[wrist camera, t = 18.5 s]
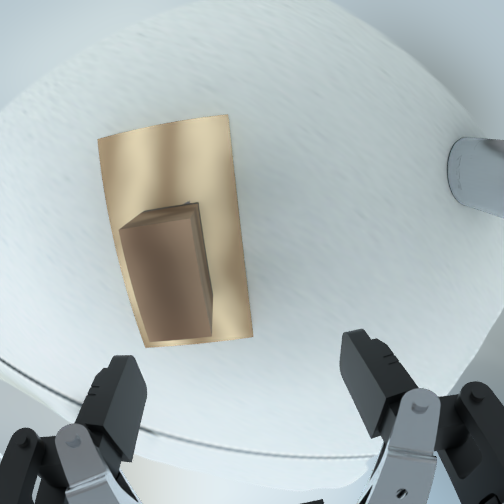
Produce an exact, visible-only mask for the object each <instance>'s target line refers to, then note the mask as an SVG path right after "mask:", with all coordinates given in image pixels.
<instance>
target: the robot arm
mask: <svg viewBox="0 0 504 504" xmlns="http://www.w3.org/2000/svg"><path fill="white" fill-rule="evenodd" d="M448 179H449V184H450V188H451V191H452V193H453V195H454V197H455V198H456V199H457V201H458V202H460V203H461V204H463V205H466V206H469V207H472V208H475V209H478V210H481V211H484V212H487V213H490V214H492V215H495V216H498V217H501V218H504V140H496V139H484V138H462V139H460V140H458V141H457V142H456V143H455V144H454V146H453V148H452V150H451V153H450V156H449V161H448ZM340 372H341V375H342V378H343V380H344V382H345V384H346V386H347V388H348V390H349V393H350V395H351V397H352V399H353V401H354V403H355V405H356V407H357V409H358V412H359V414H360V416H361V418H362V420H363V422H364V424H365V427H366V429H367V431H368V433H369V435H370V437H371V439H372V438H375V437H378V436H381V437H382V439H383V441H384V442H383V444H382V446H381V449H380V452H379V455H378V457H377V460H376V463H375V465H374V468H373V470H372V473H371V475H370V477H369V480H368V482H367V484H366V486H365V489H364V490H363V492H362V494H361V496H360V498H359V500H358V502H357V504H426V503H427V500H428V497H429V493H430V489H431V486H432V482H433V477H434V474H435V470H436V465H437V457H436V456H433V451H437V452H438V454H439V456H440V458H441V461H442V463H443V464H444V467H445V469H446V471H447V473H448V475H449V477H450V479H451V481H452V484H453V486H454V488H455V490H456V493H457V495H458V497H459V499H460V502H461V504H504V406H503V405H502V403H501V402H500V401H499V399H498V398H497V397H496V395H495V394H494V393H493V391H492V390H491V389H490V388H489V387H488V386H487V385H486V384H483V383H481V382H470V383H467V384H466V385H465V386H464V387H463V388H462V389H461V391H460V393H459V394H457V395H450V396H443V397H438V396H437V395H436V394H435V393H434V392H432V391H430V390H427V389H423V388H418V386H417V385H416V384H415V382H414V381H413V379H412V378H411V377H410V375H409V374H408V372H407V371H406V370H405V368H404V367H403V366H402V364H401V363H400V362H399V360H398V359H397V358H396V356H395V355H394V353H393V352H392V351H391V349H390V348H389V347H388V345H386V344H385V343H383V342H382V341H380V340H378V339H377V338H376V339H372V340H371V339H370V337H369V336H368V335H367V333H366V332H365V330H364V329H358V330H353V331H349V332H344V333H343V336H342V344H341V354H340ZM146 399H147V387H146V383H145V381H144V379H143V376H142V374H141V372H140V369H139V367H138V365H137V362H136V360H135V358H134V357H133V356H132V355H116V356H113V358H112V360H111V362H110V364H109V366H108V368H103V369H102V370H101V371H100V372H99V373H98V374H97V375H96V376H95V379H94V381H93V383H92V385H91V388H90V389H89V392H88V395H87V396H86V398H85V400H84V403H83V405H82V407H81V409H80V412H79V414H78V416H77V419H76V421H75V423H74V424H69V425H66V426H64V427H63V428H61V429H60V430H59V431H58V433H57V435H56V436H51V437H39V436H38V435H37V434H36V433H35V432H34V430H32V429H30V428H22V429H19V430H17V431H16V432H15V433H14V434H13V435H12V437H11V439H10V441H9V444H8V446H7V449H6V451H5V453H4V456H3V458H2V461H1V464H0V504H34V502H33V500H32V492H33V489H34V485H35V481H36V478H37V475H38V476H39V477H40V478H41V482H40V485H39V489H38V493H37V497H36V500H35V504H143V503H142V502H141V500H140V499H139V497H138V496H137V494H136V493H135V492H134V490H133V488H132V487H131V485H130V483H129V482H128V480H127V479H126V477H125V475H124V474H123V472H122V470H121V469H120V464H121V461H124V462H132V459H133V454H134V449H135V445H136V440H137V436H138V431H139V427H140V423H141V419H142V415H143V411H144V406H145V402H146ZM471 435H472V436H471ZM474 440H475V441H474ZM302 504H324V502H323V499H321V500H317V501H312V502H307V503H302Z"/></svg>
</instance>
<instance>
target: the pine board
mask: <svg viewBox="0 0 504 504" xmlns="http://www.w3.org/2000/svg"><path fill="white" fill-rule="evenodd" d="M98 149H99V157H100V165H101V173H102V180H103V186H104V192H105V198H106V204H107V209H108V215H109V220H110V225H111V230H112V234H113V239H114V243H115V248H116V252H117V256H118V260H119V264H120V268H121V272H122V275H123V279H124V283H125V286H126V290H127V293H128V297H129V300H130V303H131V306H132V310H133V313H134V316H135V319H136V322H137V325H138V328H139V331H140V334H141V337H142V340H143V342H144V345H145V348H149V347H164V346H177V345H189V344H199V343H209V342H218V341H226V340H234V339H242V338H249V337H253V329H252V321H251V312H250V304H249V296H248V287H247V279H246V271H245V262H244V254H243V245H242V236H241V228H240V219H239V210H238V201H237V192H236V183H235V174H234V165H233V156H232V147H231V137H230V128H229V118H228V114H226V115H218V116H210V117H202V118H195V119H189V120H182V121H176V122H171V123H165V124H160V125H155V126H150V127H145V128H141V129H136V130H132V131H128V132H123V133H119V134H115V135H111V136H108V137H104V138H100V139H98ZM195 202H199V209H200V216H201V223H202V230H203V236H204V243H205V249H206V255H207V261H208V267H209V273H210V279H211V285H212V291H213V318H212V337H203V338H193V339H183V340H171V341H159V342H149V339H148V336H147V333H146V330H145V327H144V324H143V321H142V318H141V315H140V311H139V308H138V305H137V301H136V298H135V295H134V291H133V288H132V284H131V280H130V277H129V273H128V269H127V265H126V261H125V257H124V253H123V249H122V244H121V240H120V235H119V229H120V228H122V227H123V226H124V225H125V224H127V223H128V222H129V221H131V220H132V219H133V218H135V217H136V216H137V215H139V214H140V213H142V212H143V211H145V210H151V209H157V208H163V207H169V206H175V205H182V204H189V203H195Z"/></svg>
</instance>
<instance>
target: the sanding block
mask: <svg viewBox="0 0 504 504" xmlns="http://www.w3.org/2000/svg"><path fill="white" fill-rule="evenodd" d="M119 235H120V240H121V244H122V249H123V253H124V257H125V261H126V265H127V269H128V273H129V277H130V280H131V284H132V288H133V291H134V295H135V298H136V301H137V305H138V308H139V311H140V315H141V318H142V321H143V324H144V327H145V330H146V333H147V336H148V339H149V342H159V341H171V340H183V339H193V338H203V337H212V318H213V291H212V285H211V279H210V273H209V267H208V261H207V255H206V249H205V243H204V236H203V230H202V223H201V216H200V209H199V202H195V203H189V204H182V205H175V206H169V207H163V208H157V209H151V210H145V211H143V212H142V213H140V214H139V215H137V216H136V217H135V218H133V219H132V220H131V221H129V222H128V223H127V224H125V225H124V226H123V227H122V228H120V229H119Z"/></svg>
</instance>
